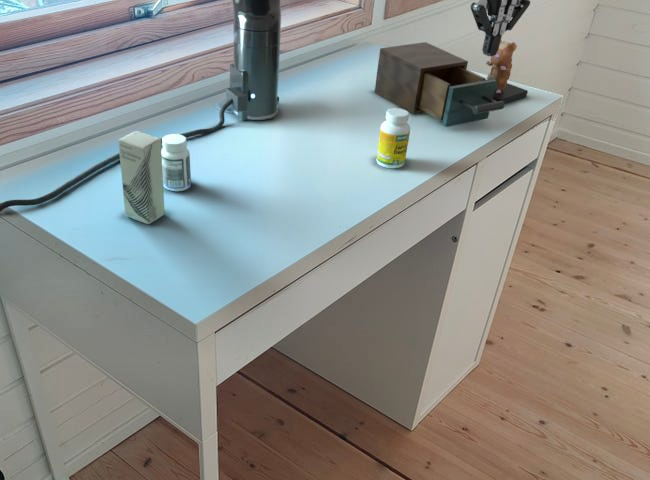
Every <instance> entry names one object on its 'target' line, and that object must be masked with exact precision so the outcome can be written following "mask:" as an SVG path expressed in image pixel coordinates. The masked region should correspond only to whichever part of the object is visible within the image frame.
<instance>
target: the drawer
mask: <svg viewBox="0 0 650 480" xmlns="http://www.w3.org/2000/svg"><path fill="white" fill-rule="evenodd" d="M496 83H497V81H496V80H494V79H491V80H487V77H486V78H485V77H483V76H482V75H479V74H477V73H475V72H473V71H471V70H469V69H464V68H462V67H460V66H458V67H452V68H445V69H439V70H433V71H426V72H423V76H422V82H421V88H420V93H419V99H418V105H417V108H419V109H421V110H423V111H424V112H425V113H426V114H428V115H430V116H432V117H433V118H435V119H437V120H439V121H442V123H441V126H442V127H445V128H447V127H452V126H453V127H454V126H458V125H462V124H469V123H473V122H478V121H483V120H487V119H489V115H490V112H494V111H500V110H503V109H504V108H505V105H504V102H503V101H498V102H497V101H495V100H493V95H494V91H495V87H496Z"/></svg>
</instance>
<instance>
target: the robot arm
mask: <svg viewBox="0 0 650 480" xmlns="http://www.w3.org/2000/svg"><path fill="white" fill-rule="evenodd" d="M530 6H531V0H479V1H478V2H472V3H471V4H470V11H471V14H472V16H473V19H474V21H475V24H476V27H477V29H478V31H481V32H483V33H484V34H485V36H484V40H483V44H482V49H481V50H482V54H483V55H485V56H487V57H491V56H495V55H496V53H497V51H498V49H499V45H500V41H501V40H502V37H503V35H505V33H506V32H507V31H512V30H513V28H514V27H515V25H516V24H517V23H518V22H519V20H520V19H521V18H522V16H523V15H524V13H525V12H526V11H527V10H528V8H529V7H530ZM232 11H233V12H232V14H233V15H232V16H233V63H230V64H229V87H228V88H226V93H225V94H226V102H225V103H224V104H223V105H222V106H221V108H220V110H219V114H218V115H219V121H218V123H217V124H216V125H215V126H213V127H209V128H199V129H194V130H191V131H188V132H187V131H186V132H183V133H179V135H183V136H185V137H186V139H187V138H191V137H195V136H199V135H207V134H210V133H213V132H216V131H219V130H220V129H221V128H222V127H223V126H224V124H225V111H226V110H227V109H228V108H229V111H230V112H231V113H233V114H234V115H235V116H236V117H237V118H239V119H240V120H242V121H247V120H248V121H265V120H270V119H272V118H275V117H276V116H277V115H278V114H279V108H278V105H279V104H280V96H279V80H280V79H279V77H280V55H281V53H280V52H281V30H282V4H281V0H232ZM160 139H161V145H162V139H163V137H161V138H160ZM118 160H120V152H118V153H116V154H114V155H111V156H109V157H108V158H106V159H104V160H102V161H100V162H98V163H96V164H95V165H93V166H91V167H90V168H88V169H86V170H85V171H83V172H82V173H80V174H78V175H77V176H75V177H74V178H71V179H70V180H68V181H67V182H65V183H64V184H62V185H61V186H59V187H57V188H55V189H54V190H53V191H50V192H49V193H47V194H45V195H42V196H40V197H37V198H31V199H9V200H6V201H3V202H1V203H0V213H1V212H2V211H4V210H5V209H7V208H9V207H21V206H24V207H25V206H26V207H27V206H37V205H41V204H44V203H47V202H49V201H51V200H53V199H54V198H56V197H58V196H59V195H61V194H62V193H64V192H66V191H67V190H68V189H70V188H72V187H73V186H76V185H77V184H78V183H80V182H81V181H83V180H85V179H86V178H88V177H89V176H91V175H93V174H94V173H96V172H98V171H99V170H101V169H103V168H105V167H107V166H109V165H110V164H112V163H114V162H116V161H118ZM31 396H32V394H30V395H29V397H31Z"/></svg>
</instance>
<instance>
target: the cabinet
mask: <svg viewBox="0 0 650 480" xmlns="http://www.w3.org/2000/svg"><path fill="white" fill-rule="evenodd" d="M377 61H378V62H377V71H376V78H375V84H374V85H375V86H374V93H375V94H377V95H378V96H380V97H382V98H383V99H385V100H386V101H389V102H390V103H392V104H394V105H395V106H397V107H399V108H400V109H404V110H406V111H408V112H409V114H411V115H413V116H414V115H418V114H420V115H421V114H425V113H426V112H424V111H423V110H421V109H419V108H417V105H418V99H419V93H420V88H421V82H422V76H423V72H426V71H433V70H439V69H445V68H452V67H458V66H460V67H462V68H464V69H467V68H468V63H469V61H468V60H466V59H464V58H462V57H460V56H458V55H455V54H452V53H451V52H448V51H446V50H444V49H442V48H439V47H437V46H435V45H433V44H431V43H429V42H426V41H425V42H423V41H422V42H416V43H408V44H402V45H394V46H387V47H380V48H379V55H378V60H377ZM467 70H468V69H467Z"/></svg>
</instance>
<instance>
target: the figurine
mask: <svg viewBox="0 0 650 480" xmlns="http://www.w3.org/2000/svg"><path fill="white" fill-rule="evenodd" d="M516 50H517V44H516V42H514V41H512V42H509V41H502V39H501V41H500V45H499V49H498V51H497V53H496V55H495V56H490V60H487V61H486V63H485V65H487V66H489V67H491V69H490V72H489V73H488V74H487V77H486V80H491V79H494V80H496V81H497V83H496V87H495V91H494V95H493V100H495V101H497V102H498V101H503V102H504V106H505V105H508V104H510V103H513V102H516V101H519V100H522V99H525V98H527V95H528V92H529V90H527V89H525V88H522V87H518V86H516V85H513V84H511V83H508V80H510V77H511V71H512V69H513V63H512V62H513V54H514V52H515V51H516Z"/></svg>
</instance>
